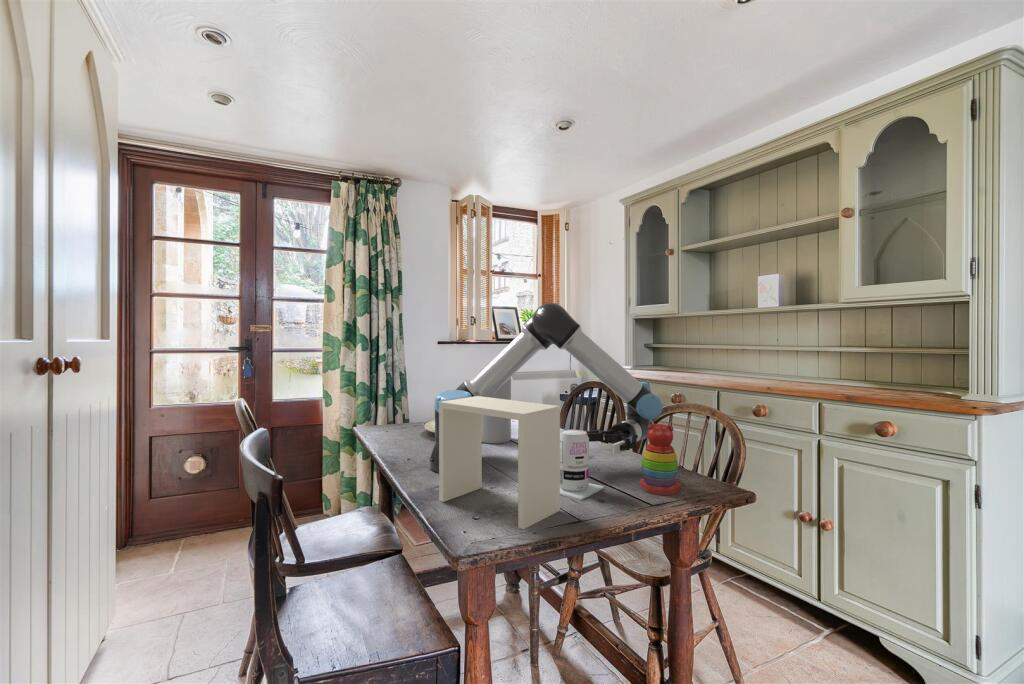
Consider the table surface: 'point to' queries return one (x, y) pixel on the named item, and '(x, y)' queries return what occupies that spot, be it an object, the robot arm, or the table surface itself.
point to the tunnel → (534, 452)
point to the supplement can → (574, 460)
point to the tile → (582, 492)
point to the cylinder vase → (497, 420)
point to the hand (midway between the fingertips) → (591, 445)
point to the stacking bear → (660, 462)
